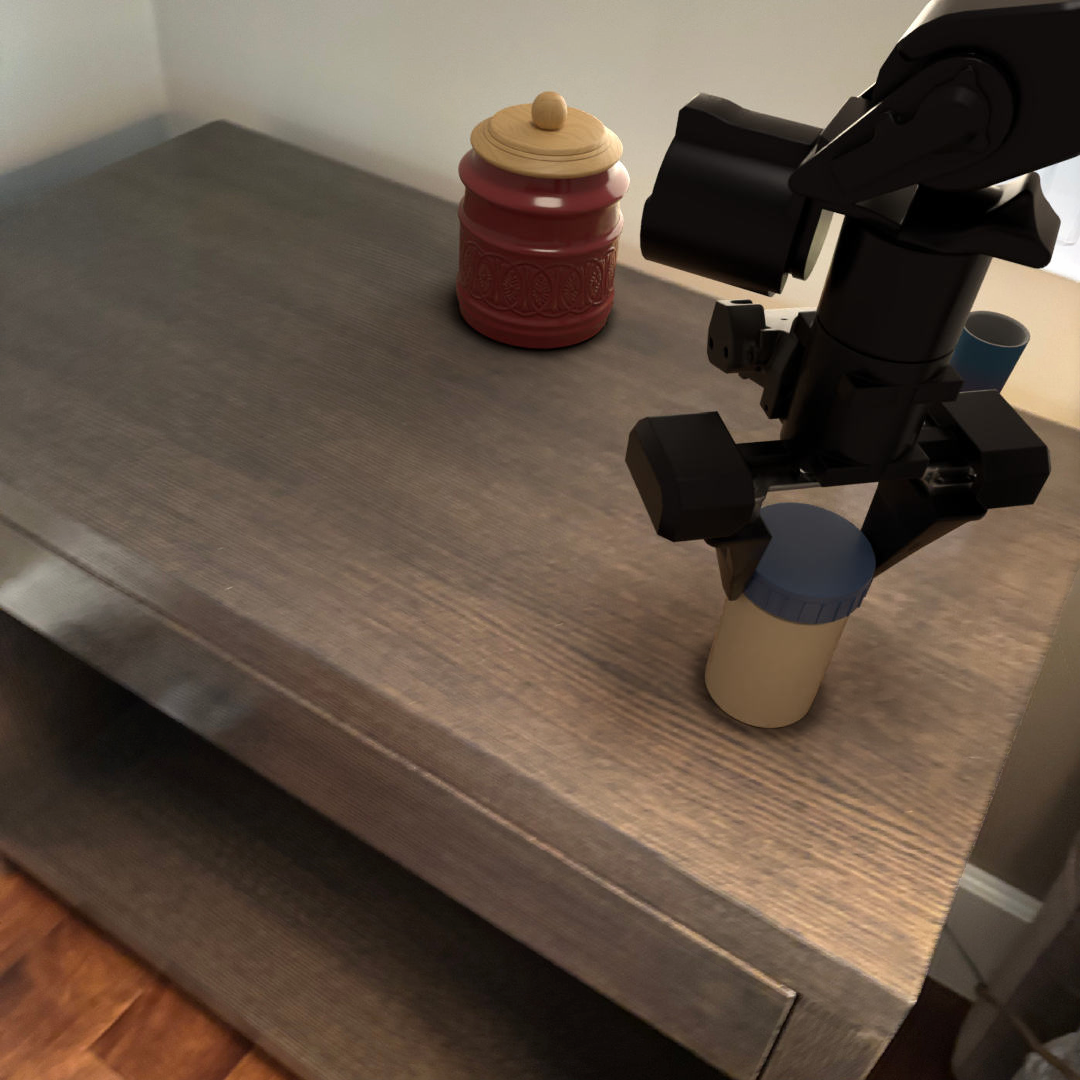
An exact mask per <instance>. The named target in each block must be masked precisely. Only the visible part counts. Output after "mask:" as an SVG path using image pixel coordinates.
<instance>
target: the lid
mask: <svg viewBox="0 0 1080 1080" xmlns="http://www.w3.org/2000/svg"><path fill="white" fill-rule="evenodd" d="M759 513H760V515H761V516H762V518H763V520H764V522H765V524H766V526H767V527H768V529H769V531H770V533H771V535H772V540H771V542H770V543H769V545H768V547H767V549H766V551H765V553H764V555H763V557H762V559H761V560H760V562H759V564H758V566H757V568H756V570H755V572H754V574H753V576H752V578H751V580H750V582H749V584H748V585H747V587H746V589H745V590H744V592H743V593H744V594H745V595H746V596H747V597H748V598H749V599H750V600H751V601H752V602H754V603H755V604H756V605H758V606H759V607H761V608H762V609H764V610H765V611H767V612H769V613H771V614H773V615H775V616H778V617H780V618H783V619H786V620H790V621H794V622H799V623H807V624H821V623H829V622H835V621H837V620H840V619H842V618H844V617H846V616H849V617H850V615H851V614H853V613H854V612H855V611H856V610H857V609H860V608H861V606H862V603H863V602H864V598H867V595H868V593H869V590H870V588H871V585H872V584H873V581H874V579H873V578H872V576H873V574H874V571H875V566H876V559H875V554H874V551H873V548H872V546H871V544H870V542H869V541H868V539H867V538H866V536H865V535H864V534H863V533H862V532H861V531H860V530H861V529H860V528H858V527H857V526H856V525H855V524H854V523H853V522H851V521H850V520H849V519H847V518H846V517H843V516H842V515H840V514H839V513H837V512H834V511H832V510H830V509H827V508H826V507H825V508H824V507H822V506H818V505H815V504H810V503H805V502H797V501H784V502H781V501H780V502H774V503H771V504H766V505H764V506H761V509H760V512H759Z"/></svg>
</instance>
